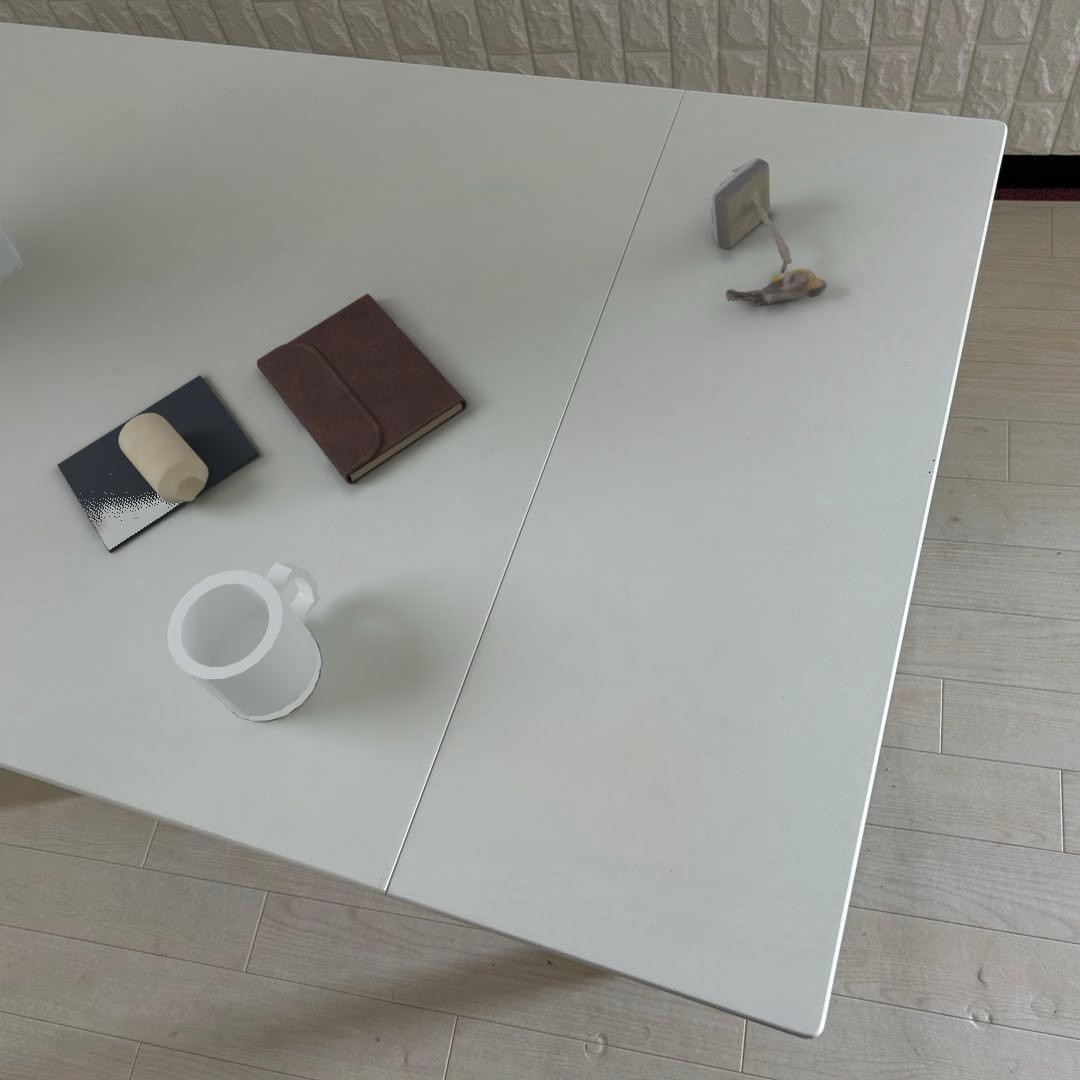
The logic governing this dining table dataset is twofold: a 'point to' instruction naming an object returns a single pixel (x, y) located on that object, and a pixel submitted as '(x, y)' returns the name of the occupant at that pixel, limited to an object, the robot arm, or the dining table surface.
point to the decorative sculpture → (738, 213)
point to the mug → (247, 638)
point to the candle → (163, 458)
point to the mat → (192, 419)
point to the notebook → (360, 387)
